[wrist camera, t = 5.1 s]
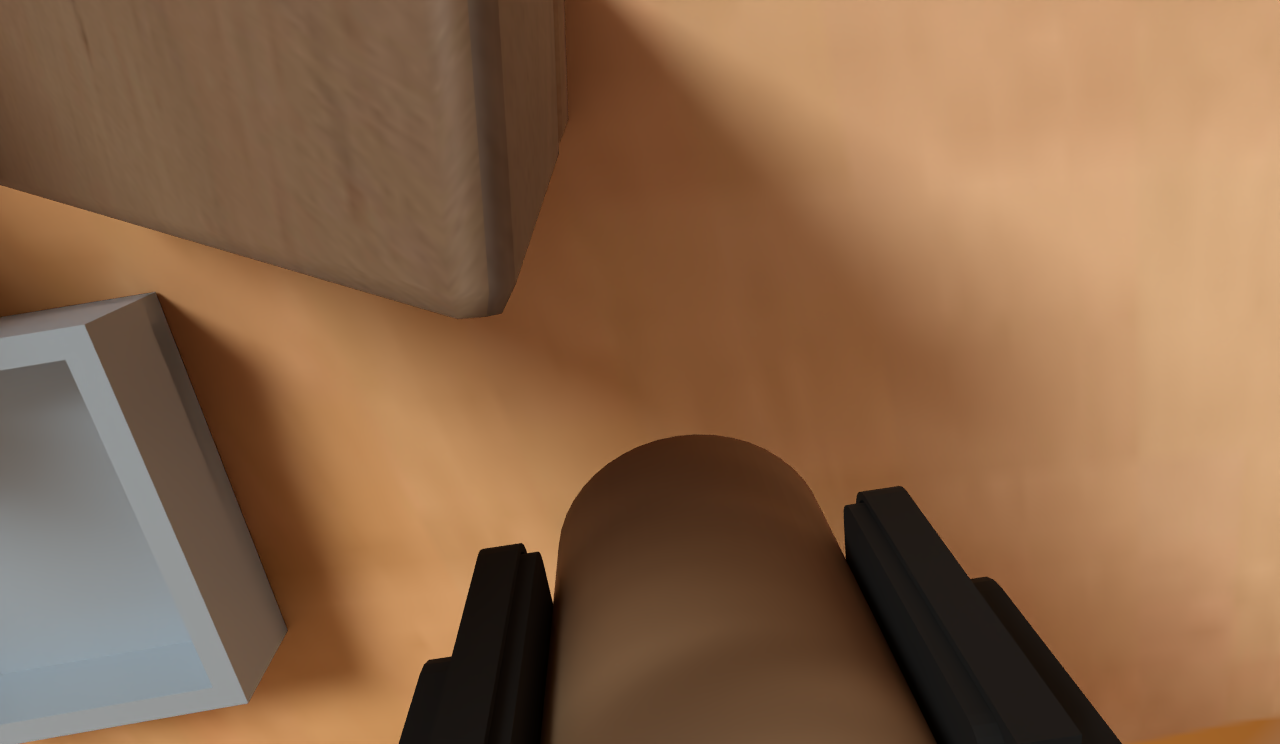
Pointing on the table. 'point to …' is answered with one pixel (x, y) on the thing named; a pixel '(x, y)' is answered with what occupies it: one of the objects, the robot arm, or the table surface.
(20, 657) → the tray
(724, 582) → the dowel
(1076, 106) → the table surface
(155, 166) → the wooden blocks
